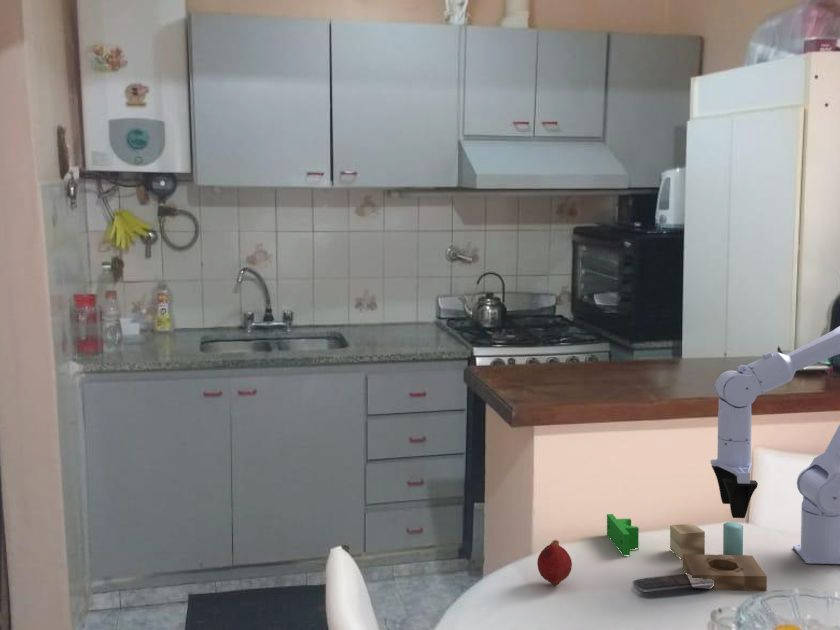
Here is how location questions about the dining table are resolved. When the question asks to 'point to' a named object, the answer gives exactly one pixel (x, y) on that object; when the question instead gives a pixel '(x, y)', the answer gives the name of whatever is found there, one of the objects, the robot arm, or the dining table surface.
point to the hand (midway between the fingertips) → (733, 510)
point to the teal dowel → (732, 538)
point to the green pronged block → (622, 533)
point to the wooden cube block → (687, 539)
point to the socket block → (727, 571)
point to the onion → (554, 563)
